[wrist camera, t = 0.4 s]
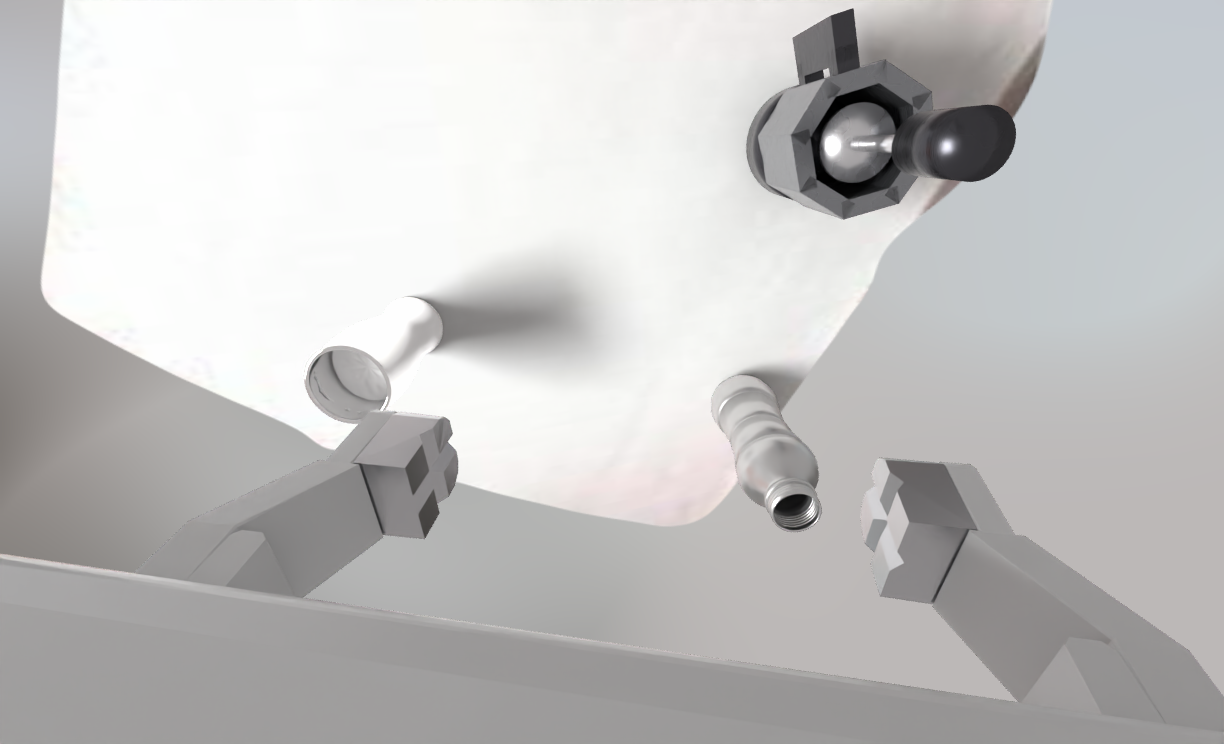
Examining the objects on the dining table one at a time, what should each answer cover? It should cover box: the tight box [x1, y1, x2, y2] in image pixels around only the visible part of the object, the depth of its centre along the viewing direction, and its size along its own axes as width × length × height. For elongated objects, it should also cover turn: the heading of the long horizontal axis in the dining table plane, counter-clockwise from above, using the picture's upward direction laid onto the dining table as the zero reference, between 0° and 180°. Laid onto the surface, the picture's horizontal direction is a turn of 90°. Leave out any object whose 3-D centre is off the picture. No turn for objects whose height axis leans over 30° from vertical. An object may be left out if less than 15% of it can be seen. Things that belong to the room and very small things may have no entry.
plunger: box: [817, 102, 1016, 183], centre depth 31 cm, size 5×5×14 cm
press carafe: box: [747, 9, 933, 219], centre depth 42 cm, size 12×9×14 cm
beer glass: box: [304, 297, 443, 424], centre depth 49 cm, size 7×7×15 cm
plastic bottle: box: [711, 375, 822, 532], centre depth 50 cm, size 6×7×20 cm
